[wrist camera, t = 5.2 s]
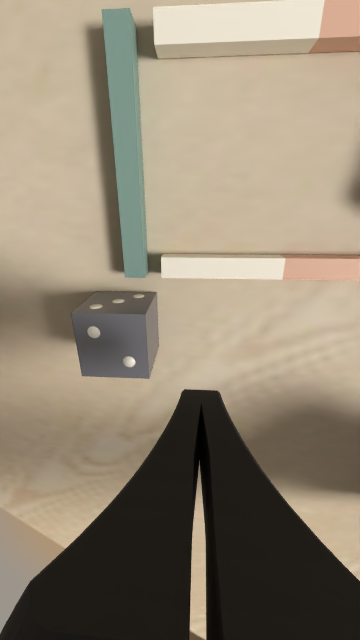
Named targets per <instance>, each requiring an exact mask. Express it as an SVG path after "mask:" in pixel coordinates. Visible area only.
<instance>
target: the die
mask: <svg viewBox="0 0 360 640" xmlns="http://www.w3.org/2000/svg"><path fill="white" fill-rule="evenodd" d="M71 317H72V322H73V328H74V334H75V339H76V345H77V351H78V356H79V362H80V367H81V373H82V376H93V377H119V378H146V379H149V378H150V375H151V371H152V368H153V364H154V361H155V357H156V354H157V351H158V347H159V337H158V311H157V292H119V291H97V292H95V293H94V294H93V295H92V296H91V297H89V298H88V299H87V300H86V301H85V302H83V303H82V304H81V305H80V306H79V307H77V308H76V309H75V310H74V311H73V312H71Z"/></svg>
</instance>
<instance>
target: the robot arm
mask: <svg viewBox="0 0 360 640" xmlns="http://www.w3.org/2000/svg"><path fill="white" fill-rule="evenodd" d="M199 460H200V472H201V484H202V496H203V508H204V520H205V536H206V640H360V581H359V580H358V579H357V578H356V577H355V576H354V575H353V574H352V573H351V572H350V571H349V570H348V569H347V568H346V567H345V566H344V565H343V564H342V563H341V562H340V561H339V560H338V559H337V558H336V557H335V556H334V554H333V553H332V552H331V551H330V550H329V549H328V548H327V547H326V546H325V545H324V544H323V543H322V542H321V541H320V540H319V539H318V537H317V536H316V535H315V534H314V533H313V532H312V531H311V529H310V528H309V527H308V526H307V525H306V524H305V523H304V522H303V520H302V519H301V518H300V517H299V516H298V515H297V514H296V512H295V511H294V510H293V509H292V508H291V507H290V505H289V504H288V503H287V502H286V501H285V499H284V498H283V497H282V496H281V494H280V493H279V492H278V490H277V489H276V488H275V487H274V485H273V484H272V483H271V481H270V480H269V479H268V477H267V476H266V475H265V473H264V472H263V470H262V469H261V468H260V466H259V465H258V463H257V462H256V460H255V459H254V457H253V456H252V454H251V453H250V451H249V449H248V448H247V446H246V445H245V443H244V441H243V440H242V438H241V436H240V435H239V433H238V431H237V429H236V427H235V426H234V424H233V422H232V420H231V418H230V416H229V414H228V412H227V410H226V407H225V405H224V403H223V400H222V398H221V395H220V393H219V392H218V391H212V390H187V389H185V390H184V391H182V393H181V397H180V399H179V402H178V405H177V407H176V409H175V411H174V413H173V415H172V417H171V419H170V421H169V423H168V425H167V426H166V428H165V430H164V432H163V433H162V435H161V437H160V438H159V440H158V441H157V443H156V445H155V446H154V448H153V449H152V451H151V452H150V454H149V455H148V457H147V458H146V460H145V461H144V462H143V464H142V465H141V466H140V468H139V469H138V470H137V472H136V473H135V474H134V476H133V477H132V478H131V479H130V481H129V482H128V483H127V484H126V485H125V487H124V488H123V489H122V490H121V492H120V493H119V494H118V495H117V496H116V497H115V499H114V500H113V501H112V502H111V503H110V504H109V505H108V506H107V507H106V508H105V510H104V511H103V512H102V513H101V514H100V515H99V516H98V517H97V518H96V519H95V520H94V521H93V522H92V523H91V524H90V525H89V526H88V527H87V528H86V529H85V530H84V531H83V533H82V534H81V535H80V536H79V537H77V538H76V539H75V540H74V541H73V542H72V543H71V544H70V545H69V546H68V547H67V548H66V549H65V550H64V551H63V552H62V553H61V554H59V555H58V556H57V557H56V558H55V559H54V560H53V561H52V562H51V563H50V564H49V565H48V566H46V567H45V568H44V569H43V570H42V571H41V572H40V573H39V574H38V575H37V576H36V577H34V578H33V579H32V580H31V581H30V583H29V584H28V586H27V587H26V589H25V591H24V592H23V594H22V596H21V598H20V599H19V601H18V603H17V604H16V606H15V608H14V610H13V612H12V614H11V615H10V617H9V619H8V620H7V622H6V624H5V626H4V627H3V630H2V632H1V634H0V640H189V629H190V590H191V551H192V530H193V518H194V508H195V498H196V488H197V478H198V468H199Z"/></svg>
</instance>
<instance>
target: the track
mask: <svg viewBox="0 0 360 640" xmlns="http://www.w3.org/2000/svg"><path fill="white" fill-rule="evenodd" d="M102 18H103V29H104V41H105V52H106V64H107V76H108V87H109V99H110V110H111V122H112V133H113V145H114V156H115V168H116V180H117V191H118V203H119V214H120V226H121V237H122V249H123V260H124V272H125V277H132V278H145V277H146V276H147V274H148V255H147V236H146V216H145V197H144V177H143V157H142V138H141V118H140V98H139V79H138V59H137V40H136V25H135V22H134V19H133V16H132V14H131V11H130V8H123V9H103V10H102ZM153 20H154V46H155V49H156V53H157V56H158V59H163V58H189V57H216V56H242V55H268V54H294V53H320V52H346V51H360V0H282V1H262V2H242V3H222V4H202V5H183V6H163V7H153ZM161 275H162V278H210V279H288V280H360V255H247V254H163V255H162V257H161Z"/></svg>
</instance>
